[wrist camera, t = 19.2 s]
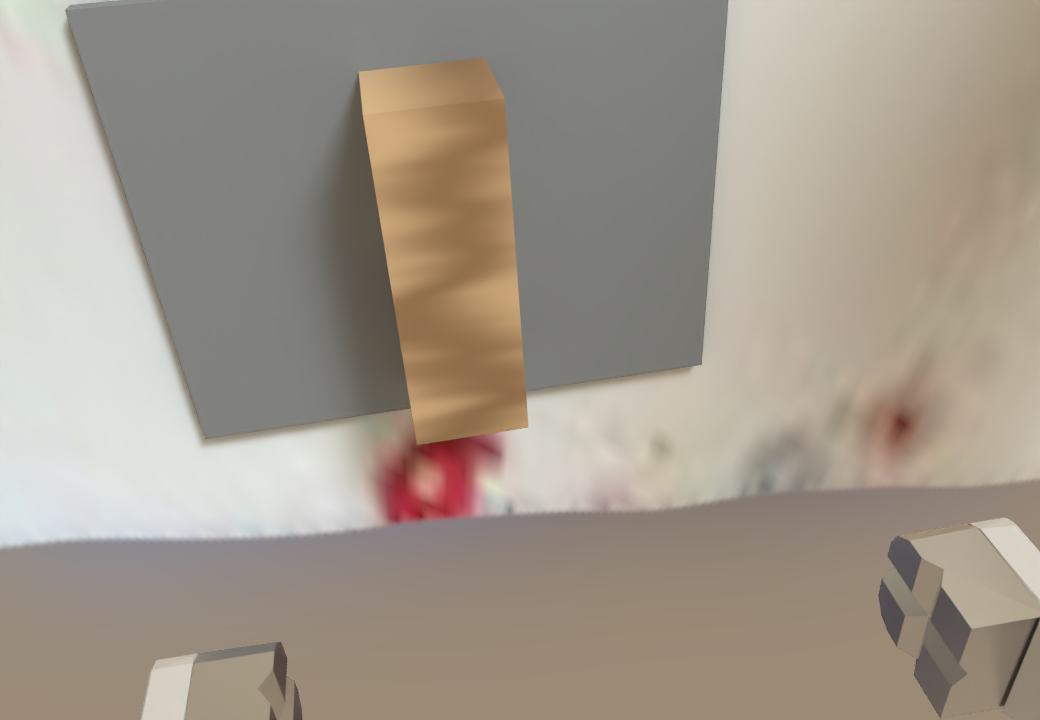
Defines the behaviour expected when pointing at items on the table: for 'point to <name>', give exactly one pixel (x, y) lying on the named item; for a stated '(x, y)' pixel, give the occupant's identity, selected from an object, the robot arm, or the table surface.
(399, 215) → the oak post
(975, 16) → the table surface
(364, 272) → the slate mat
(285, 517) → the table surface
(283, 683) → the robot arm
